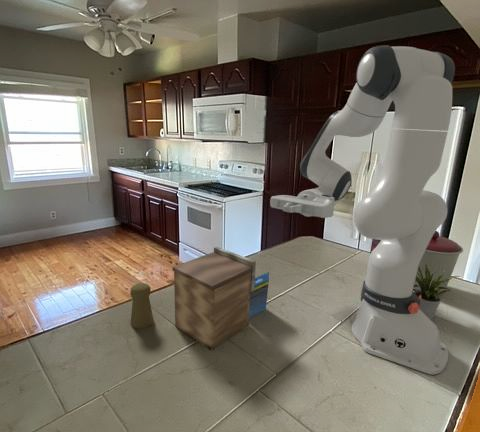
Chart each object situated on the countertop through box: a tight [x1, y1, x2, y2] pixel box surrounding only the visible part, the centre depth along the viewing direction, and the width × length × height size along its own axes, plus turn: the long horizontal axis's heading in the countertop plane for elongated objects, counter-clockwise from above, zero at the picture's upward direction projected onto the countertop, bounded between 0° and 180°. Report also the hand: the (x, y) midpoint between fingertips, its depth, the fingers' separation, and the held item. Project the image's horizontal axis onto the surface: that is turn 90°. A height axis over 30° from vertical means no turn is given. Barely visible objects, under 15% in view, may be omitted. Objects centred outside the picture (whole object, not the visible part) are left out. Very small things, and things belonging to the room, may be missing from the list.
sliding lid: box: [172, 246, 257, 292], centre depth 81 cm, size 14×16×9 cm
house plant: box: [413, 263, 460, 320], centre depth 93 cm, size 14×14×16 cm
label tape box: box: [249, 271, 270, 319], centre depth 90 cm, size 9×4×12 cm, turn 135°
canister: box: [413, 230, 464, 294], centre depth 109 cm, size 18×18×21 cm
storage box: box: [173, 271, 251, 351], centre depth 83 cm, size 14×14×16 cm
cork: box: [129, 282, 154, 330], centre depth 84 cm, size 6×6×11 cm
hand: (287, 209), depth 94 cm, fingers closed
